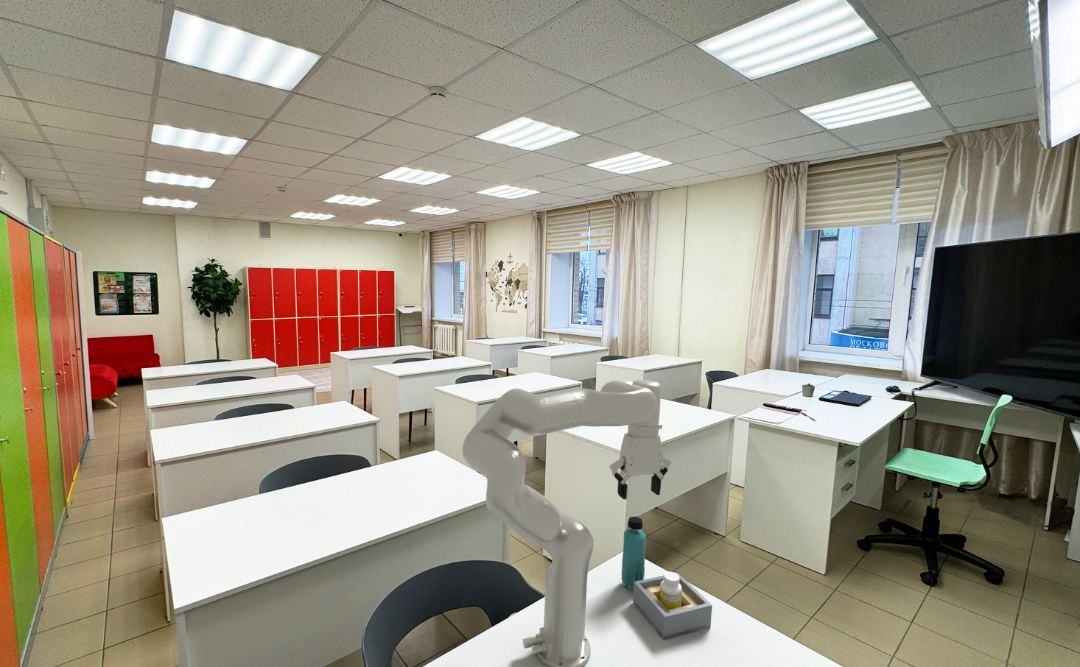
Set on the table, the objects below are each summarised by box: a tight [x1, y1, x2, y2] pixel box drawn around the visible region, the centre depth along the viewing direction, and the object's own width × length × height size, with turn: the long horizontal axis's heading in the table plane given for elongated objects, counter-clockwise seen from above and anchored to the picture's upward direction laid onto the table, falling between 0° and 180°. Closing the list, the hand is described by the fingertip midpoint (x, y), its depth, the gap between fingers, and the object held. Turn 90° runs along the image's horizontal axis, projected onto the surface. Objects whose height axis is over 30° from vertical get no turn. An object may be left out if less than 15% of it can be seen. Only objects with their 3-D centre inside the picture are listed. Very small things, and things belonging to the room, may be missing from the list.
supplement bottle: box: [660, 571, 682, 610], centre depth 120 cm, size 5×5×10 cm
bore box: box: [632, 572, 713, 641], centre depth 120 cm, size 14×14×6 cm
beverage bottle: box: [620, 516, 647, 589], centre depth 131 cm, size 6×7×20 cm
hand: (638, 495), depth 117 cm, fingers open, 9 cm apart
